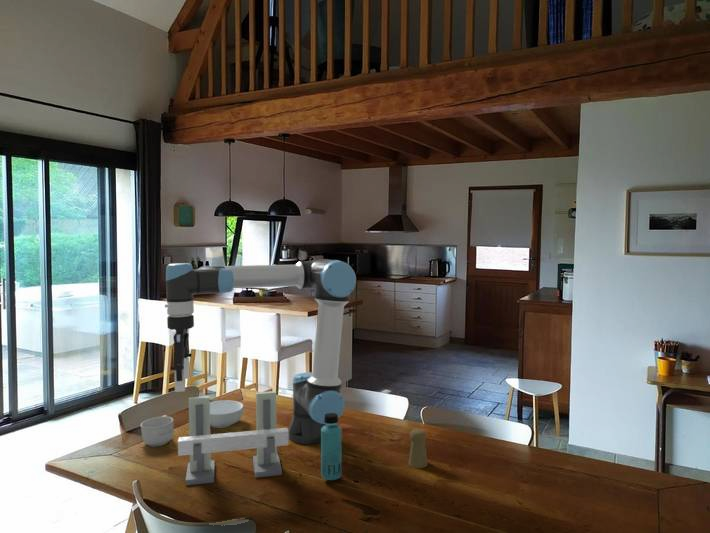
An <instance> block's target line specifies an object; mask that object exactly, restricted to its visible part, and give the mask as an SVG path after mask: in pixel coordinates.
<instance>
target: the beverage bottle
mask: <svg viewBox="0 0 710 533" xmlns="http://www.w3.org/2000/svg"><path fill="white" fill-rule="evenodd" d="M324 422H325V423H328V424H326V425H324V426H323V427H322V428H321V442H320V452H321V453H320V475H321V478H322V479H325V480H329V481H335V480H339V479H340V478H341V477H342V474H343V451H342V449H343V439H342V438H343V436H342V427H341V426H340V425H339V424H337V423H338V422H339V418H338V415H337V414H336V413H327V414H325V418H324Z"/></svg>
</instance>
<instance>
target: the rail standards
mask: <svg viewBox="0 0 710 533" xmlns="http://www.w3.org/2000/svg"><path fill="white" fill-rule="evenodd" d="M255 396H256V397H255V400H256V404H255V406H256V407H255V408H256V430H266V429H277V391H276V390H274V391H272V390H270V391H260V392H255ZM210 400H211V399H210V395H205V396H193V397H191V396H190V397H189V396H188V425H189V426H188V429H189V430H188V432H189V434H188V435H189V436H200V435H211V426H210V402H211V401H210ZM189 436H188V437H189ZM277 448H278V446H275V438H271V439H267V447H264V448H256V455H253V456H252V462H253V470H254V477H255V478H254V479H256V478H265V477H275V476H281V475H283V469H282V465H281V461H280V457H279V454H278V450H277ZM211 459H212V456H211V453H203V454H201V445H197V446H193V455H189V462H187V468H186V474H185V486H193V485H201V484H212V483H213V484H214V482H215V468H216V466H215V460H214V459H212V460H211Z"/></svg>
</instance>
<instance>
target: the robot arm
mask: <svg viewBox="0 0 710 533" xmlns="http://www.w3.org/2000/svg"><path fill="white" fill-rule="evenodd" d="M356 283H357V276H356V273H355V270H354V269H353V268H352V266H351V265H350V264H348V263H347V262H345V261H341V260H338V259H328V258H322V259H314V260H307V261H298V262H297V263H295V264H269V265H268V264H266V265H265V264H264V265H263V264H262V265H259V264H257V265H224V266H223V265H221V266H220V265H218V266H217V265H215V266H214V265H213V266H211V265H203V266H200V267H199V268H198V269H194V268H193V265H192V264H191V263H189V262H182V263H181V262H179V263H178V262H176V263H169V264H167V266H166V268H165V288H166V291H165V292H166V304H165V305H164V308H167V309H166V313H167V315H168V316H167V318H166V321H167V329H169V330H174V331H175V333H174V334H173V366H172V367H171V371H173V372H174V376H173V377H174V392H175V393H179V392H180V393H182V392H185V391H186V380H188V379H190V378H191V377H190V374H191V372H190V358H192V353H191V352H190V344H189V343H190V342H189V338H190V336H189V330H188V329H192V328H194V326H195V320H194V319H195V318H194V317H195V315H193V314H194V311H195V310H194V308H195V307H194V295H202V294H203V295H204V294H205V295H206V294H225V293H231V292H232V291H233V289H247V288H252V289H253V288H254V289H255V288H276V287H277V288H278V287H281V288H282V287H285V288H286V287H296V288H297V289H299V290H306V289H307V290H312V291H313V290H314V291H315V292H314V300H315V301H316V302H317V304H318V307H317V318H316V327H315V328H316V331H315V342H314V350H313V352H314V353H313V363H312V371H310V372H309V371H308V372H302V373H297V374H295V375H294V376H293V378H292V410H293V411H292V412H293V413H292V419H291V422H290V424H289V428H288V440H290V441H291V442H294V443H297V444H300V445H301V444H302V445H312V444H313V445H314V444H321V428H322V427H323V426H324V425H326V424H328V423H325V422H324V418H325V414H327V413H336V414H337V415H338V419H339V418H340V417H341V416H342V415H343V414H344V410H345V408H346V407H345V405H346V403H345V400H344V397H343V395H342V384H343V383H342V380H341V379H340V378H339V376H338V375H339V367H340V366H339V364H340V355H341V342H342V330H343V321H344V310H345V306H346V305H347V304H348V303H350V294H351V293H352V292H353V291H354V290H355V288H356Z"/></svg>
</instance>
